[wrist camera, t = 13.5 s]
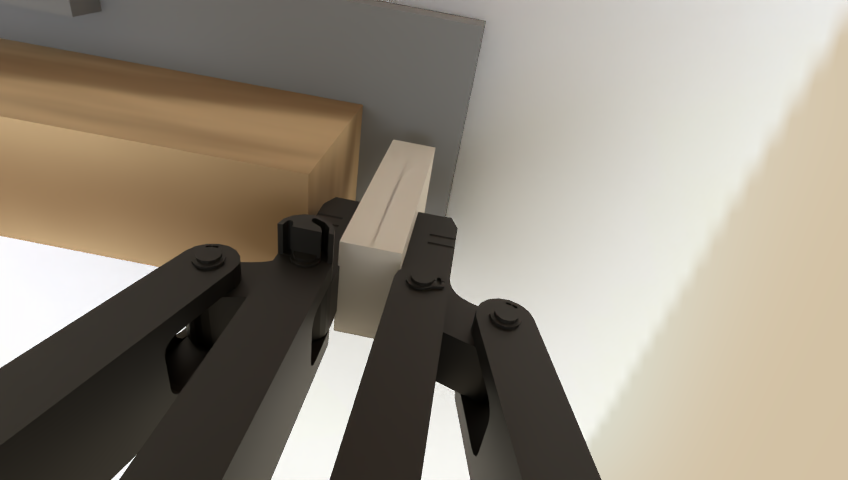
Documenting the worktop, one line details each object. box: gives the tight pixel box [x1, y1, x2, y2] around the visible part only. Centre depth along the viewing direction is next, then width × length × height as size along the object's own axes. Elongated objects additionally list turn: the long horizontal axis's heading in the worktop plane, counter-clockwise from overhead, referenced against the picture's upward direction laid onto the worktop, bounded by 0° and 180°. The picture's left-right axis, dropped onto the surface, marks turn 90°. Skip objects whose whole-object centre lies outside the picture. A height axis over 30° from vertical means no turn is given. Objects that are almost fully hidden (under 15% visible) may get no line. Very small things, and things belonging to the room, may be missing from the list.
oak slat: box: [0, 38, 363, 267], centre depth 17 cm, size 4×14×6 cm, turn 82°
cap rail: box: [0, 0, 485, 217], centre depth 17 cm, size 10×24×6 cm, turn 81°
